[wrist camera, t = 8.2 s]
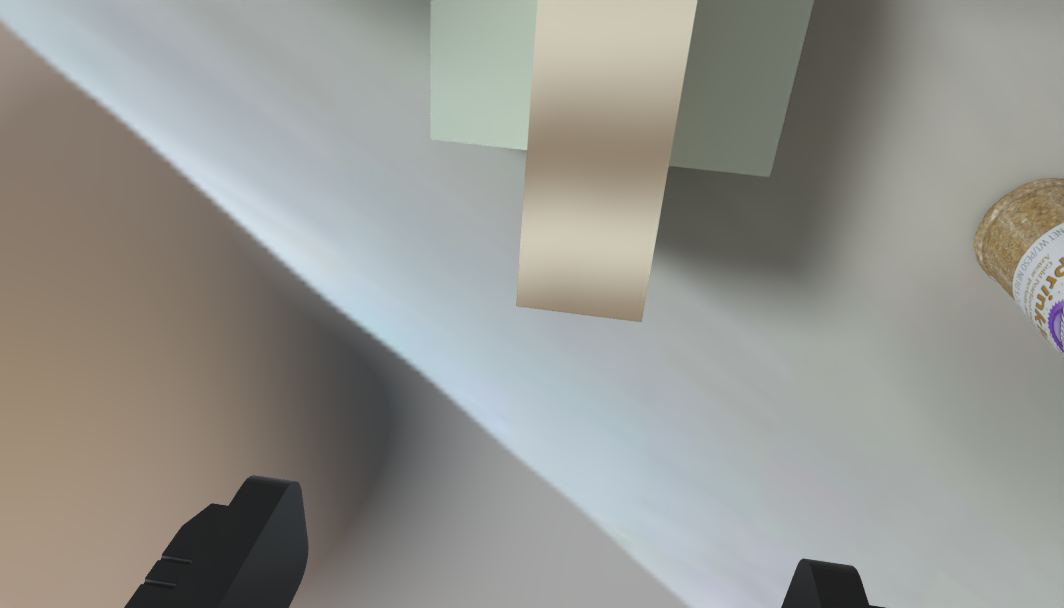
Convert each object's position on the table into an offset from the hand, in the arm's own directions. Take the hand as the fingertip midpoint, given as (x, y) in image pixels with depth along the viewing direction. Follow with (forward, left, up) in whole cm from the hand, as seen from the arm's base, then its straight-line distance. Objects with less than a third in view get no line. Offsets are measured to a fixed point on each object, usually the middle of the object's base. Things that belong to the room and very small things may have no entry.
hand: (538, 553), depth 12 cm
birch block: (-3, 0, -17) cm, 17 cm away
